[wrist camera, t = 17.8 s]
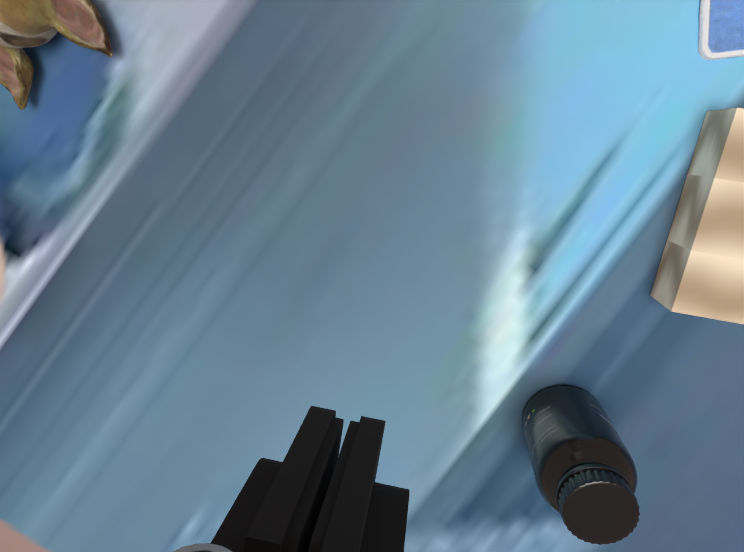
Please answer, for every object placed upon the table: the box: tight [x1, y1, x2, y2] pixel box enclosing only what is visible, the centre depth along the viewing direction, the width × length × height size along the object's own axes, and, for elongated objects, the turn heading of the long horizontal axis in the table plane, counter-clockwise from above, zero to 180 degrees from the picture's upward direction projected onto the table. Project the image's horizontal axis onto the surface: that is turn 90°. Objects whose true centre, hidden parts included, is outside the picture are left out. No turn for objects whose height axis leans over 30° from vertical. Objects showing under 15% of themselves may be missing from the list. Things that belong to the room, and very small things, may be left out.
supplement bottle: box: [522, 386, 640, 545], centre depth 39 cm, size 7×7×12 cm
